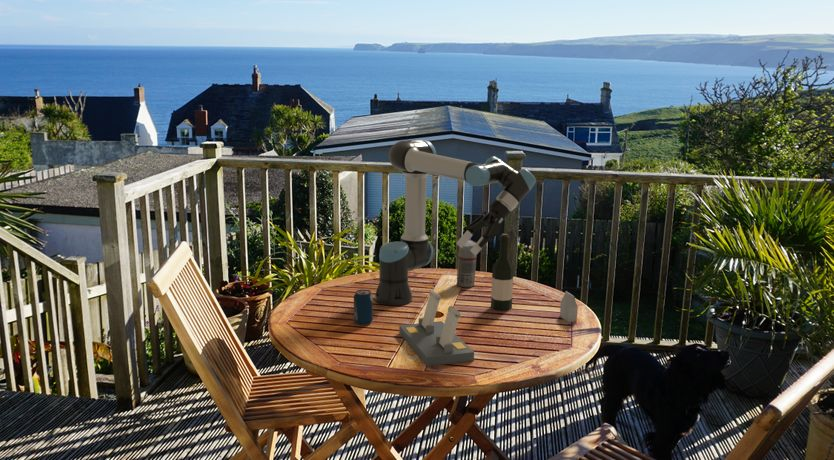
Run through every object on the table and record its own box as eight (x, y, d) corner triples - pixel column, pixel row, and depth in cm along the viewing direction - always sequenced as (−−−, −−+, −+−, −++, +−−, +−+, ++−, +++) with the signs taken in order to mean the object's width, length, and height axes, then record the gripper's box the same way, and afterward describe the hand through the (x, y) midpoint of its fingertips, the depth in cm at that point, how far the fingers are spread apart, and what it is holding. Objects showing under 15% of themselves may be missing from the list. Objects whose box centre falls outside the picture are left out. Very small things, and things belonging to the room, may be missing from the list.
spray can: (477, 283, 303) (479, 240, 299) (472, 288, 296) (474, 244, 291) (459, 281, 306) (460, 238, 302) (454, 286, 298) (455, 242, 294)
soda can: (375, 321, 254) (376, 290, 251) (366, 327, 248) (366, 295, 245) (359, 318, 257) (359, 288, 254) (350, 324, 250) (350, 293, 248)
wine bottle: (511, 304, 276) (515, 232, 269) (512, 311, 267) (515, 237, 261) (490, 303, 276) (493, 231, 270) (490, 310, 268) (494, 236, 262)
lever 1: (425, 325, 241) (435, 290, 240) (431, 330, 236) (441, 295, 234) (420, 324, 241) (430, 289, 239) (426, 330, 235) (436, 294, 234)
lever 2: (443, 343, 225) (454, 306, 223) (450, 350, 219) (461, 312, 218) (438, 342, 224) (448, 305, 222) (444, 349, 218) (455, 311, 217)
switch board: (441, 328, 247) (441, 314, 246) (473, 360, 219) (474, 344, 218) (399, 333, 242) (399, 318, 241) (427, 366, 214) (427, 349, 213)
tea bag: (567, 322, 257) (569, 296, 254) (559, 316, 263) (561, 291, 261) (576, 321, 257) (578, 296, 255) (568, 315, 264) (570, 290, 262)
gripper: (525, 217, 239) (486, 263, 237) (495, 207, 262) (459, 249, 261) (511, 203, 236) (472, 249, 235) (482, 194, 260) (446, 236, 258)
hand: (465, 249), depth 248 cm, fingers open, 13 cm apart
